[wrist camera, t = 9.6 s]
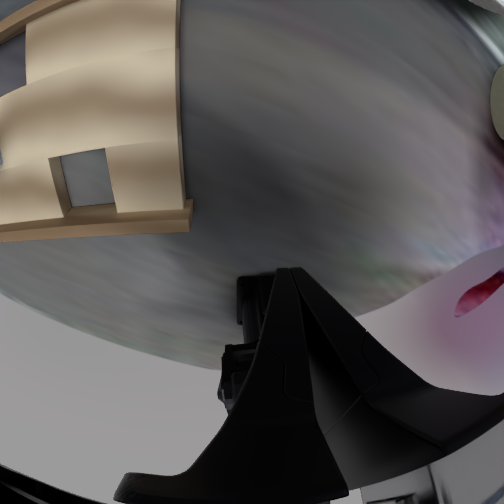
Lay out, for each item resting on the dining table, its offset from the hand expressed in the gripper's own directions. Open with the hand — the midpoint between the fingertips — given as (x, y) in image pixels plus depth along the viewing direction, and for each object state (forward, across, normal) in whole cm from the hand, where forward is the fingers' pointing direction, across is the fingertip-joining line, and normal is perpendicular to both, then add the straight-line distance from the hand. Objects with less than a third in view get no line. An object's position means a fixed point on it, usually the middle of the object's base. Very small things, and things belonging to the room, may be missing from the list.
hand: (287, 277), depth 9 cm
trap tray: (+12, +15, -5) cm, 20 cm away
